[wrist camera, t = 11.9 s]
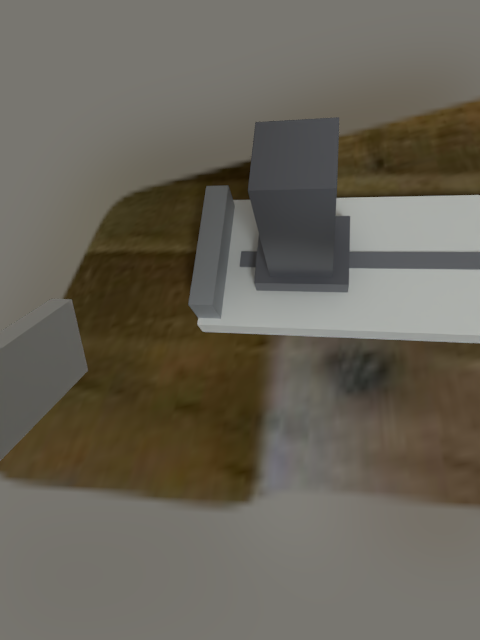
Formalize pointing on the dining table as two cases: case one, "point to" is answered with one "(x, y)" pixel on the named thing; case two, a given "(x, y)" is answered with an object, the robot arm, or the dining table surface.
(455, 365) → the dining table surface
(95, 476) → the dining table surface
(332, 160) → the fader knob
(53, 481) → the dining table surface
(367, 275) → the fader base
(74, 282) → the dining table surface
